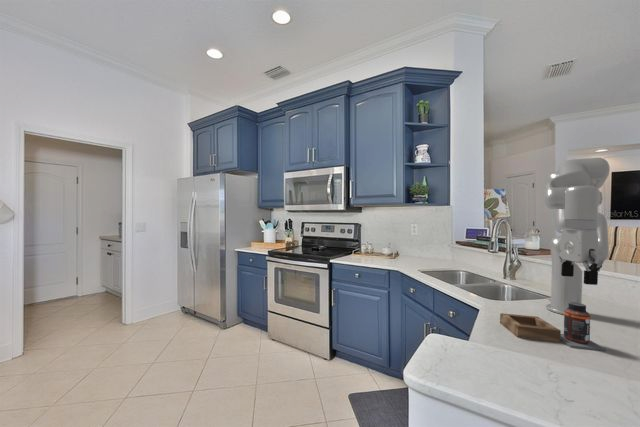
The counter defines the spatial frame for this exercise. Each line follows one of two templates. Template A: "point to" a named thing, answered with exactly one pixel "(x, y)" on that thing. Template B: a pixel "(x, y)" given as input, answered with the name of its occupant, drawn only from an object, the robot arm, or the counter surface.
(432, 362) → the counter surface
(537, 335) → the pocket frame
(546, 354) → the counter surface
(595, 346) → the slate coaster
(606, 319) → the counter surface
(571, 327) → the supplement bottle
